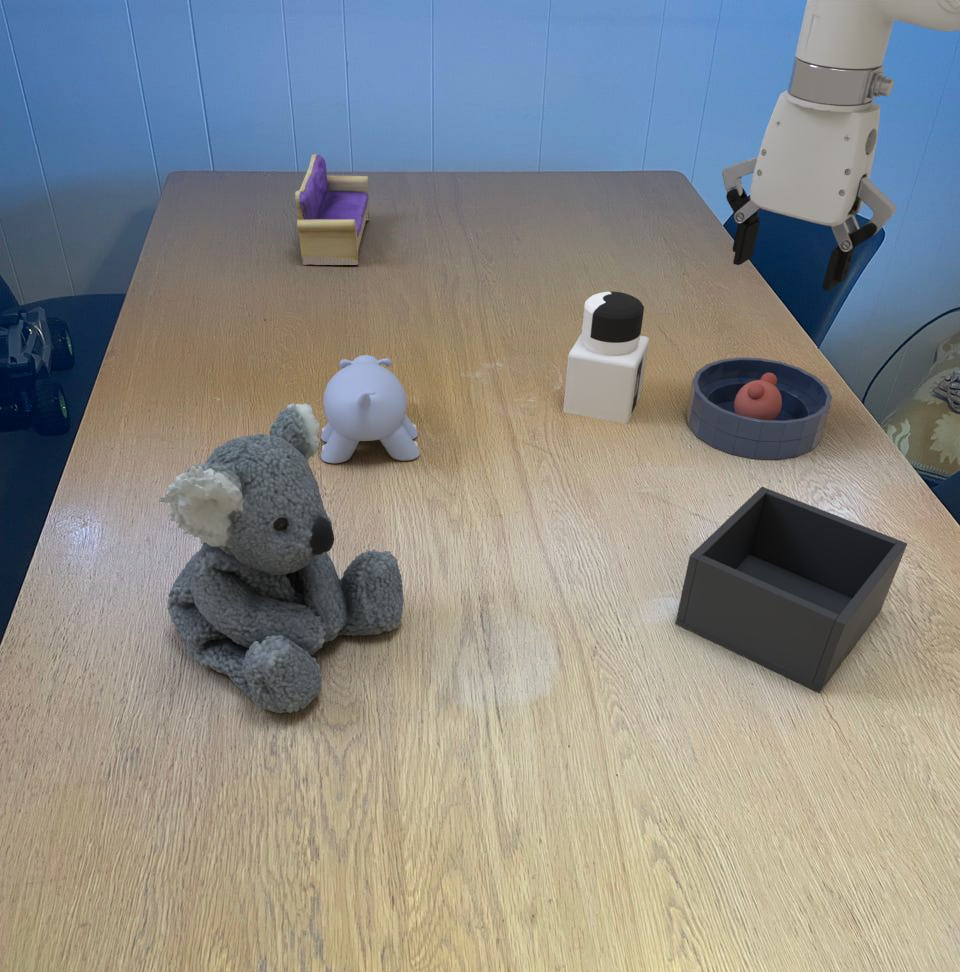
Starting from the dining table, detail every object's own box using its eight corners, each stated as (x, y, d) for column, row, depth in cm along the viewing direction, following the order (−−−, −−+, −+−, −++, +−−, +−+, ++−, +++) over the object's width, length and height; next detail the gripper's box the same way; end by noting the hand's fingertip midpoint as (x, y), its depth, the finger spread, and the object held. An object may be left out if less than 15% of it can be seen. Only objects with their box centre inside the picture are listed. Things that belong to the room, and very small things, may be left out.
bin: (880, 610, 87) (907, 543, 82) (819, 693, 79) (845, 624, 74) (744, 552, 93) (761, 485, 88) (674, 623, 85) (689, 555, 80)
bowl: (841, 424, 112) (853, 385, 109) (784, 479, 103) (796, 438, 100) (723, 383, 119) (731, 345, 116) (661, 432, 110) (668, 392, 107)
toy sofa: (358, 269, 143) (354, 196, 136) (300, 267, 143) (292, 195, 136) (372, 219, 159) (368, 152, 152) (319, 217, 158) (313, 150, 152)
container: (641, 397, 116) (656, 291, 107) (627, 428, 110) (642, 318, 102) (579, 385, 118) (589, 280, 109) (562, 415, 112) (571, 307, 103)
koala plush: (290, 737, 74) (257, 531, 61) (126, 650, 81) (64, 448, 68) (418, 615, 85) (413, 418, 72) (264, 547, 92) (233, 356, 79)
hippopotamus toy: (414, 403, 114) (412, 325, 107) (422, 472, 103) (420, 390, 96) (322, 406, 113) (314, 328, 106) (320, 476, 102) (311, 394, 95)
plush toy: (783, 423, 111) (795, 377, 107) (763, 440, 108) (775, 394, 104) (742, 408, 113) (753, 363, 110) (722, 425, 110) (732, 379, 107)
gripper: (942, 93, 85) (881, 285, 96) (762, 60, 92) (726, 242, 104) (913, 110, 80) (853, 309, 92) (726, 73, 88) (692, 262, 99)
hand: (785, 273), depth 98 cm, fingers open, 9 cm apart
